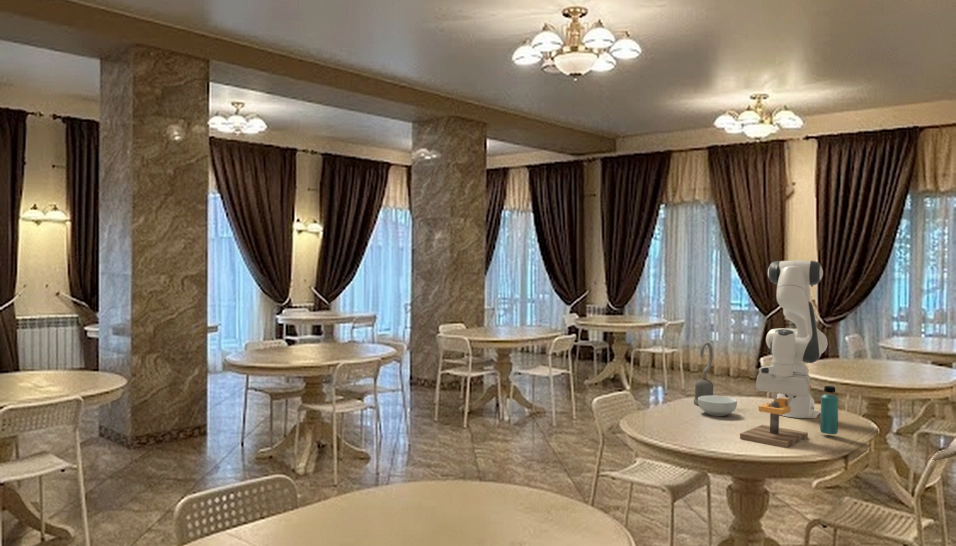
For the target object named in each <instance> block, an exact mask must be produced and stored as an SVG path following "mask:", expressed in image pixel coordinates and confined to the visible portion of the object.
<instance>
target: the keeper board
mask: <svg viewBox="0 0 956 546" xmlns="http://www.w3.org/2000/svg"><path fill="white" fill-rule="evenodd" d="M770 404H771V407H774V408H779V403H778V402H777V401H774V400H773V401H772V402H770ZM769 414H770V416H769V418H770V419H769V425H767V424H761V425H758V426H755V427H753V428H751V429H748V430H746V431H743V432H740V433H739V439H740V440H745V441H750V442H756V443H762V444H764V445H765V444H766V445H771V446H776V447H782V448H789V447H793V446H794V445H796V444H798V443H800V442H802V441H804V440H806V439H808V438H809V437H808V436H809V433H808V432H807V431H801V430H800V431H799V430H796V429H795V430H794V429H788V428H783V427H780V415H779V414H773V413H769ZM805 438H806V439H805ZM803 439H804V440H803ZM801 440H802V441H801ZM799 441H800V442H799ZM797 442H798V443H797ZM795 443H796V444H795Z"/></svg>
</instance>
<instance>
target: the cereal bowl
mask: <svg viewBox="0 0 956 546" xmlns="http://www.w3.org/2000/svg"><path fill="white" fill-rule="evenodd" d="M737 401H738V400H737V399H736V398H734V397H730V396H724V395H723V396H722V395H713V396H700V397H698V405H697V406H698V407H699V408H700V409H701V410H702V411H703V412H705V413H706V414H708V415H710V416H713V415H714V416H715V417H725V415H726V416H727V415H728V414H732V413H733V412H735V410H736V408H737V406H738V405H737Z"/></svg>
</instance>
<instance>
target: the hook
mask: <svg viewBox="0 0 956 546" xmlns="http://www.w3.org/2000/svg"><path fill="white" fill-rule="evenodd" d="M706 347H708V351H709V353H708V354H709V357H708V363H707V366H706V367H705V368H704V369H703V371H702V378H700V379H698V380H696V382H695V385H694V399H693V404H694V405H695V406H699V405H698V397H700V396H714V384H713V382H712V381H711V380H709V379H707V372H708V370H710V368H711V367H712V365H713V364H712V363H713V356H714V354H713V353H714V352H713V348H712V347H713V346H712V344H711V343H710V342H709V341H706V342H703V344H702V345H701V347H700V353H699V354H700V357H701V358H702V359H703V358H704V352H705V348H706Z"/></svg>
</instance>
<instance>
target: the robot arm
mask: <svg viewBox="0 0 956 546" xmlns="http://www.w3.org/2000/svg"><path fill="white" fill-rule="evenodd" d="M823 276H824V270H823V267H822V265H821V263H820V262H819V261H816V260H804V259H803V260H801V259H793V260H781V261H780V260H777V261H776V260H775V261H772V262H771V263H770V264H769V266H768V269H767V277H768V281H770V282H771V283H772V284H774V285H776V302H777V304H778V305H779V306H780V307H781V308H782V309H783V310H782V313H783V316H784V317H785V318H786V319H787V320H788V321H789V322H792V323H793V324H795V327H796V328H786V327H785V328H783V327H782V328H781V327H780V328H778V327H777V328H772V329H770V330H769V331H768V332H767V334H766V337H765V342H766V346H767V347H768V349H770V350H769V353H770V355H772V359H771V363H770V365H766V366H762V367H759V368H758V374H757V377H756V381H755V388H756V390H757V391H761V392H766V393H770V395H771V398H772V399H773V401H775V399H778V398H788V399H789V400H788V401H785V406H789V407H791V412H789V413H786V414H783V415H781V416H783V417H786V418H795V419H796V418H798V419H817V417H818V416H819V415H820V414H821V410H818V409H815V400H814V398H813V396H812V395H811V388H812V386H811V384H810V382H811V377H810V375H809V373H810V372H809V370H810V369H809V367H808V365H806V363H808V364H809V363H810V364H814V363H816V362H817V361H818V360H820V358H821V356H822V354H823V353H825V351H826V350H827V348H828V338H827V336H826V335H825V333H824V332H822V331H821V330H820V329H818V327H817V322H816V321H817V320H816V315H815V310H814V305H813V303H812V302H811V289H810V287H811V288H812V287H814V286H815V285H818V284H819V283H820V282H821V280H822V278H823Z"/></svg>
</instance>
